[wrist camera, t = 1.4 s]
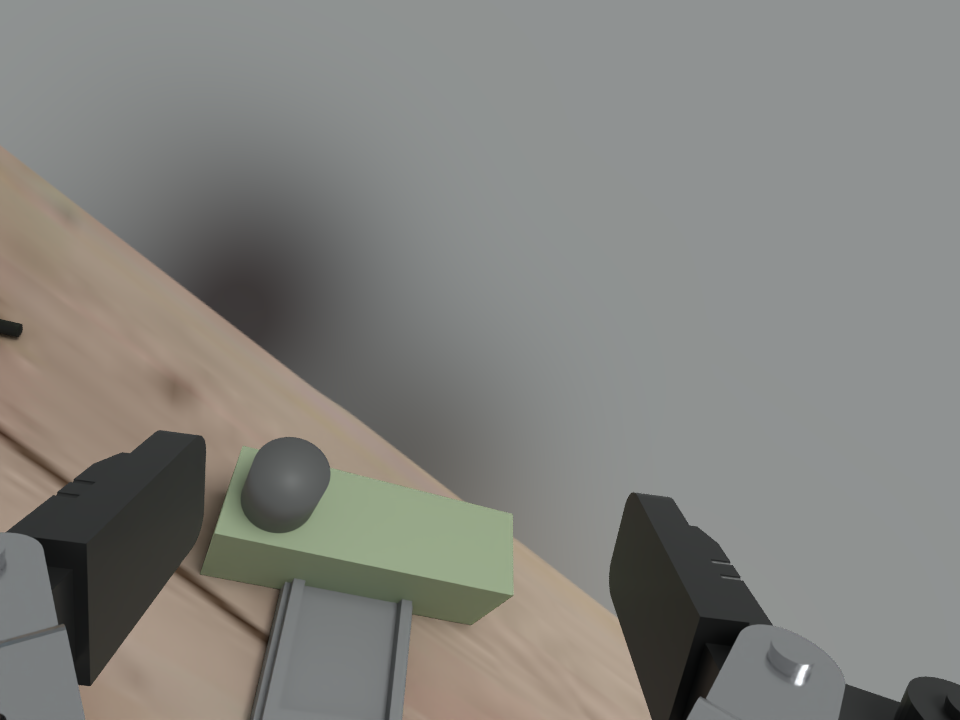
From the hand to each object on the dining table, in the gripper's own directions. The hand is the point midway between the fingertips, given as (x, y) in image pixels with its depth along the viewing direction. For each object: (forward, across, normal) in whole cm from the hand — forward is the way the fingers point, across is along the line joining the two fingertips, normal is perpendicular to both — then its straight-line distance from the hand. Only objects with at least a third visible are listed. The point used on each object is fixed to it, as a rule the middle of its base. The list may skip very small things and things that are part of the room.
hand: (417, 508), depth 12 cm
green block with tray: (+38, -6, -34) cm, 51 cm away
